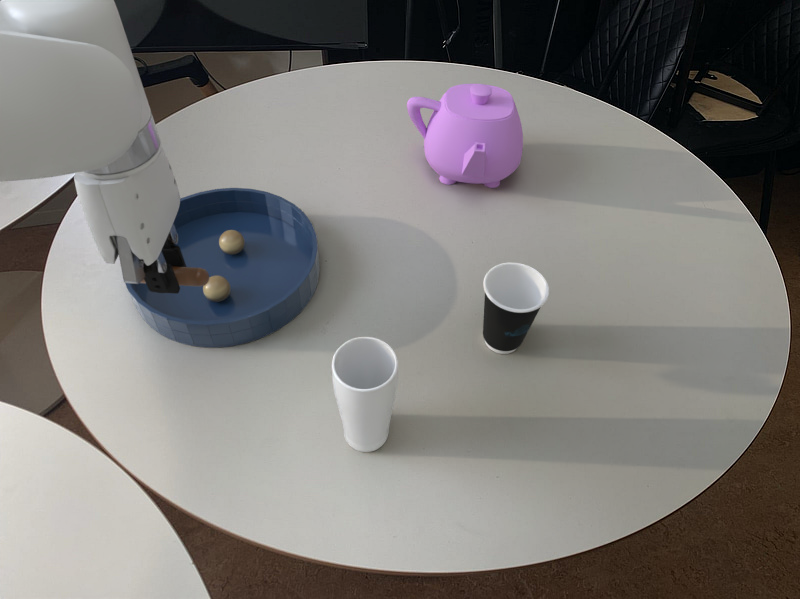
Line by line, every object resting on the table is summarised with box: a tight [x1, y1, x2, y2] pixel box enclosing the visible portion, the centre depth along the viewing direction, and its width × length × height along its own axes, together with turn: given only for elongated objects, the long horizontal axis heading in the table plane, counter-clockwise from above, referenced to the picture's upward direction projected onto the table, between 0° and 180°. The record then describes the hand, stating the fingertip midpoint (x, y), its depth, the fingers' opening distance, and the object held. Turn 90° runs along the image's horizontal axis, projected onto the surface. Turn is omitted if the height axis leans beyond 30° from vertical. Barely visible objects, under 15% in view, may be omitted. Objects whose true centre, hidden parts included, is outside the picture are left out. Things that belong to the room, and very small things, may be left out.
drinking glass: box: [331, 336, 399, 453], centre depth 65 cm, size 7×7×15 cm
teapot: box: [406, 83, 524, 189], centre depth 97 cm, size 20×20×15 cm
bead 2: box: [219, 230, 245, 255], centre depth 87 cm, size 4×4×4 cm
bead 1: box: [203, 276, 230, 302], centre depth 82 cm, size 4×4×4 cm
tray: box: [124, 187, 321, 348], centre depth 85 cm, size 26×26×5 cm
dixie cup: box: [482, 261, 550, 355], centre depth 76 cm, size 8×8×11 cm
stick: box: [140, 266, 209, 287], centre depth 64 cm, size 2×9×2 cm, turn 87°
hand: (168, 280), depth 65 cm, fingers closed on stick, 2 cm apart
